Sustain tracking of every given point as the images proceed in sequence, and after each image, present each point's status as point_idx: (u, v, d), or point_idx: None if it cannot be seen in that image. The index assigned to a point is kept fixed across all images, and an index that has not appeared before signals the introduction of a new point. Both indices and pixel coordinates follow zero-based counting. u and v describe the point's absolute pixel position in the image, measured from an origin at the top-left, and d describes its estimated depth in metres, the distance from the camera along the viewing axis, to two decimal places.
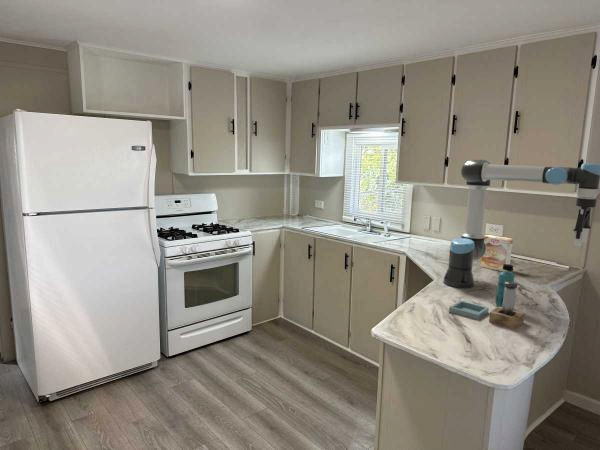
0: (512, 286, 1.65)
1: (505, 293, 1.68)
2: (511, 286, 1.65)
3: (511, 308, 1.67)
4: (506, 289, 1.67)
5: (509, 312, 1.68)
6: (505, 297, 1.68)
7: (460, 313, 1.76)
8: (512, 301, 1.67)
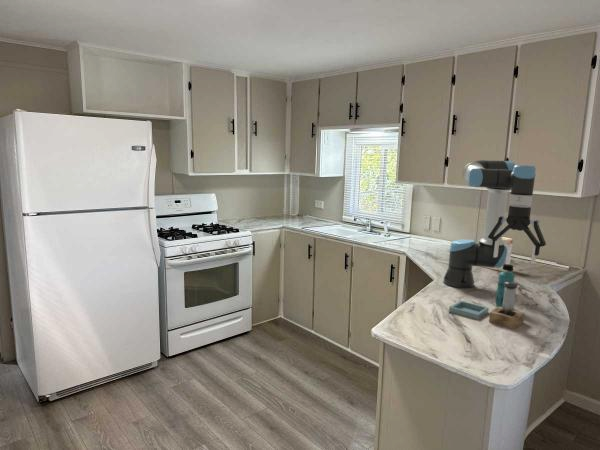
0: (512, 286, 1.65)
1: (505, 293, 1.68)
2: (511, 286, 1.65)
3: (511, 308, 1.67)
4: (506, 289, 1.67)
5: (509, 312, 1.68)
6: (505, 297, 1.68)
7: (460, 313, 1.76)
8: (512, 301, 1.67)
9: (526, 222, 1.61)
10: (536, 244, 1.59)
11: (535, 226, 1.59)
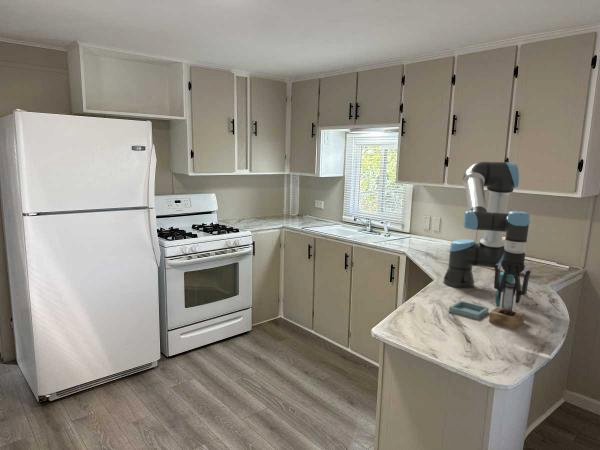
0: (512, 286, 1.65)
1: (505, 293, 1.68)
2: (511, 286, 1.65)
3: (511, 308, 1.67)
4: (506, 289, 1.67)
5: (509, 312, 1.68)
6: (505, 297, 1.68)
7: (460, 313, 1.76)
8: (512, 301, 1.67)
9: (520, 268, 1.64)
10: (517, 292, 1.65)
11: (526, 275, 1.62)
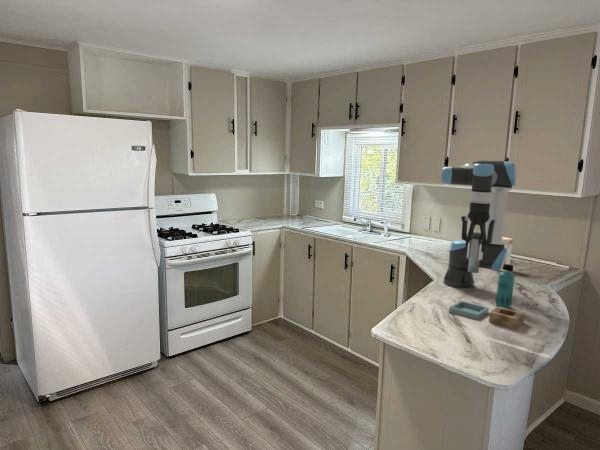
0: (478, 236, 1.72)
1: (471, 243, 1.75)
2: (477, 236, 1.72)
3: (477, 257, 1.74)
4: (472, 239, 1.74)
5: (475, 262, 1.74)
6: (471, 247, 1.75)
7: (460, 313, 1.76)
8: (478, 250, 1.74)
9: (485, 217, 1.71)
10: (483, 241, 1.72)
11: (490, 224, 1.69)
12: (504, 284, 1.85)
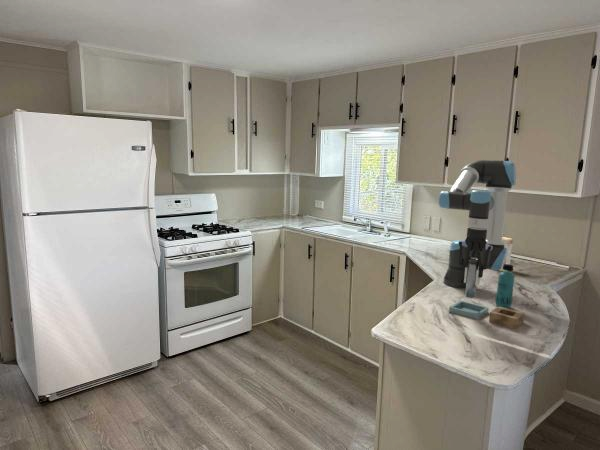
0: (475, 261, 1.74)
1: (469, 268, 1.76)
2: (474, 261, 1.74)
3: (474, 283, 1.76)
4: (469, 265, 1.76)
5: (473, 287, 1.76)
6: (469, 272, 1.76)
7: (460, 313, 1.76)
8: (475, 276, 1.75)
9: (482, 243, 1.72)
10: (480, 267, 1.74)
11: (487, 251, 1.71)
12: (504, 284, 1.85)
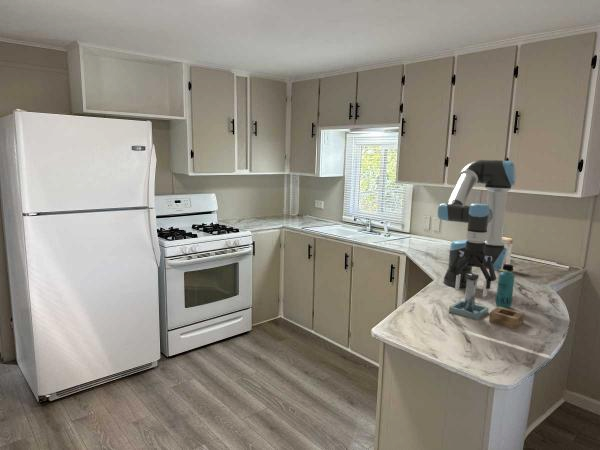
0: (473, 277, 1.75)
1: (467, 284, 1.78)
2: (472, 277, 1.76)
3: (472, 298, 1.77)
4: (468, 281, 1.77)
5: (471, 303, 1.77)
6: (467, 288, 1.78)
7: (460, 313, 1.76)
8: (473, 292, 1.77)
9: (481, 257, 1.73)
10: (487, 279, 1.72)
11: (488, 262, 1.71)
12: (504, 284, 1.85)
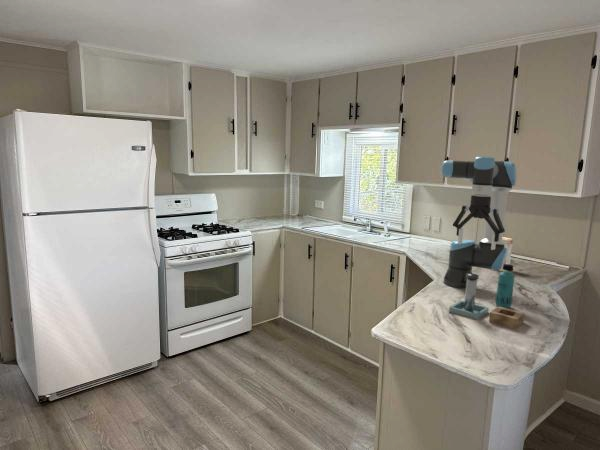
0: (473, 278, 1.75)
1: (467, 284, 1.78)
2: (472, 278, 1.75)
3: (472, 298, 1.77)
4: (468, 281, 1.77)
5: (471, 303, 1.77)
6: (467, 288, 1.78)
7: (460, 313, 1.76)
8: (473, 292, 1.77)
9: (486, 210, 1.71)
10: (495, 231, 1.69)
11: (494, 214, 1.69)
12: (504, 284, 1.85)
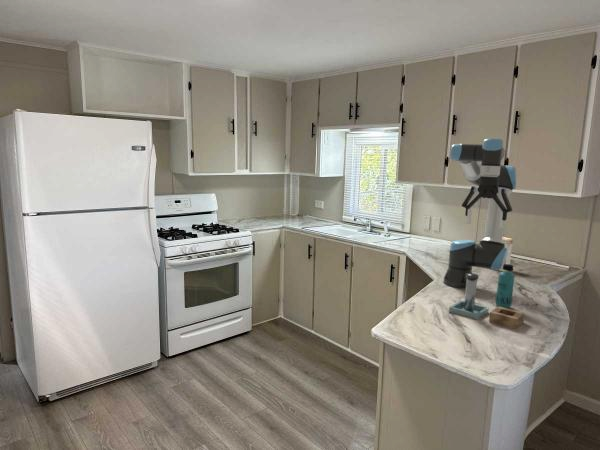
0: (473, 278, 1.75)
1: (467, 284, 1.78)
2: (472, 278, 1.75)
3: (472, 298, 1.77)
4: (468, 281, 1.77)
5: (471, 303, 1.77)
6: (467, 288, 1.78)
7: (460, 313, 1.76)
8: (473, 292, 1.77)
9: (495, 190, 1.78)
10: (503, 210, 1.76)
11: (502, 194, 1.76)
12: (504, 284, 1.85)
